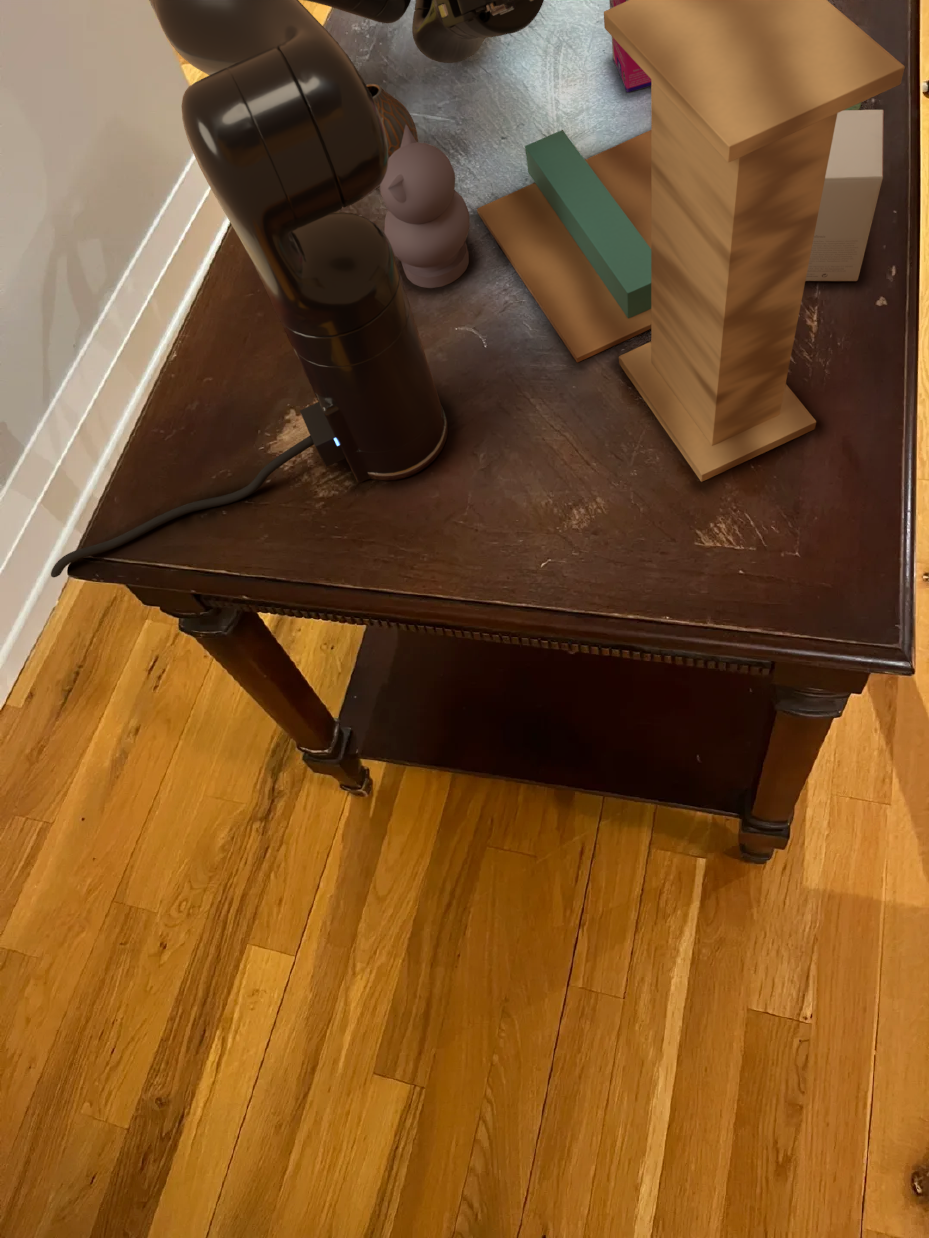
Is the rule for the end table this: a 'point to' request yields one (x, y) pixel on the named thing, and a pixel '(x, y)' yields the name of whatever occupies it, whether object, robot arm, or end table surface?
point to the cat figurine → (425, 214)
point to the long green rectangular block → (593, 220)
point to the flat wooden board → (576, 251)
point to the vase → (392, 117)
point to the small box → (848, 196)
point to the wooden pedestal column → (736, 205)
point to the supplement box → (628, 64)
